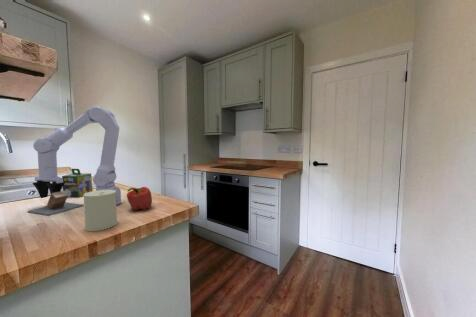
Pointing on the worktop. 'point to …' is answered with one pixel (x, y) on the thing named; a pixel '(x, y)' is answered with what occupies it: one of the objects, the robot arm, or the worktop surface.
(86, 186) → the chalk box
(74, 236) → the worktop surface
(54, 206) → the block
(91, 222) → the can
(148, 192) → the vegetable
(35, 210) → the mat
